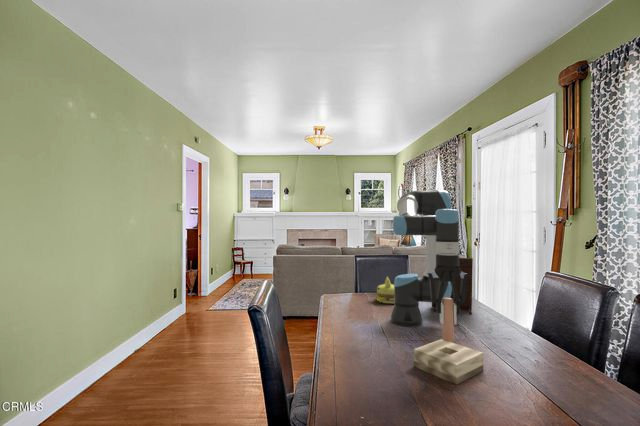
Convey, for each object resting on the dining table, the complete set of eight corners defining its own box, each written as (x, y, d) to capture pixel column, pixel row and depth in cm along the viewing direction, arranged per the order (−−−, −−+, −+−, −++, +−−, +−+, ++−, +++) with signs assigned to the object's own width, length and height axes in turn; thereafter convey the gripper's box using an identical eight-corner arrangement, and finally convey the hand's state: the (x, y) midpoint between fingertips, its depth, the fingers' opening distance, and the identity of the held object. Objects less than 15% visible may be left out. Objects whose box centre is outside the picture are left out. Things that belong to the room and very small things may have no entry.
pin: (440, 339, 115) (440, 298, 116) (446, 337, 117) (446, 297, 118) (450, 342, 112) (449, 300, 113) (456, 340, 115) (455, 299, 115)
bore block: (414, 366, 117) (414, 349, 117) (441, 355, 126) (441, 339, 126) (456, 384, 104) (456, 365, 104) (483, 370, 113) (483, 352, 114)
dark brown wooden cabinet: (471, 310, 188) (470, 256, 189) (473, 315, 178) (472, 258, 179) (431, 307, 195) (431, 255, 196) (431, 311, 185) (431, 257, 186)
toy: (375, 298, 216) (375, 275, 216) (399, 299, 214) (399, 275, 215) (376, 304, 201) (376, 279, 201) (403, 305, 199) (403, 279, 199)
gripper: (424, 254, 113) (424, 325, 113) (476, 255, 111) (477, 327, 110) (420, 252, 121) (421, 318, 120) (469, 253, 118) (470, 320, 118)
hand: (448, 322), depth 115 cm, fingers closed on pin, 3 cm apart
